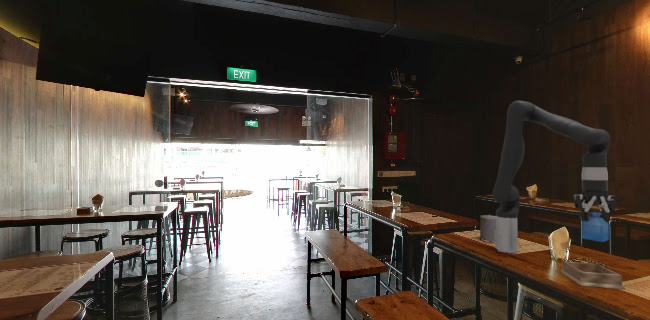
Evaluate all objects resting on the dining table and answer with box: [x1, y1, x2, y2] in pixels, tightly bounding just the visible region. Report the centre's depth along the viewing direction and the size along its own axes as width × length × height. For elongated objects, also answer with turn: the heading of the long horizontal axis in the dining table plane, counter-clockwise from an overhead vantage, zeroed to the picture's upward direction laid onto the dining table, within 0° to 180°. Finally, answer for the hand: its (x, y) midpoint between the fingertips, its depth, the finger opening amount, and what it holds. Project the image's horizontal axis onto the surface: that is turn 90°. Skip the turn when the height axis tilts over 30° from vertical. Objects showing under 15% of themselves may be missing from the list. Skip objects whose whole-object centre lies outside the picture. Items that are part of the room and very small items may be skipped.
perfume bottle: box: [581, 207, 610, 243], centre depth 112 cm, size 6×6×12 cm
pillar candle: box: [479, 214, 496, 241], centre depth 162 cm, size 10×10×15 cm
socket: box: [560, 261, 626, 290], centre depth 107 cm, size 13×13×4 cm
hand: (594, 221), depth 112 cm, fingers closed on perfume bottle, 5 cm apart
